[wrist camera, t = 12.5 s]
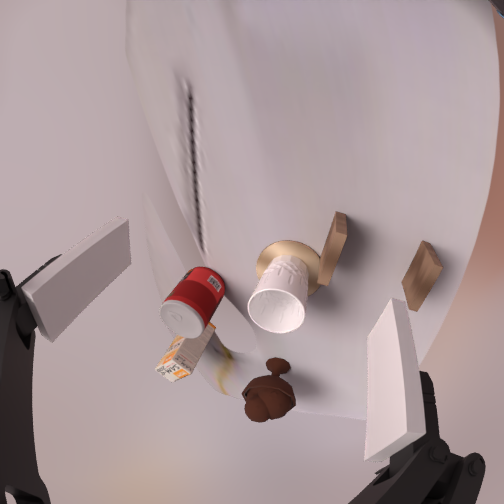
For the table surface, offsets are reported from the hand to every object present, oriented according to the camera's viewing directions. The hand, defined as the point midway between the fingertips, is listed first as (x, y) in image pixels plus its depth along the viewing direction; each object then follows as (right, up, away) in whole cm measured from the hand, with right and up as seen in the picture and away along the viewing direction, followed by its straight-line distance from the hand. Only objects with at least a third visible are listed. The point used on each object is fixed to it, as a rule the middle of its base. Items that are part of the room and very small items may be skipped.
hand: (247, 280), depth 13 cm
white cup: (+6, -2, +33) cm, 34 cm away
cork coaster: (+6, -2, +33) cm, 34 cm away
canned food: (-8, -4, +40) cm, 41 cm away
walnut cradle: (+19, +2, +27) cm, 33 cm away
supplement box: (-11, -15, +47) cm, 50 cm away
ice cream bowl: (+6, -24, +46) cm, 52 cm away
